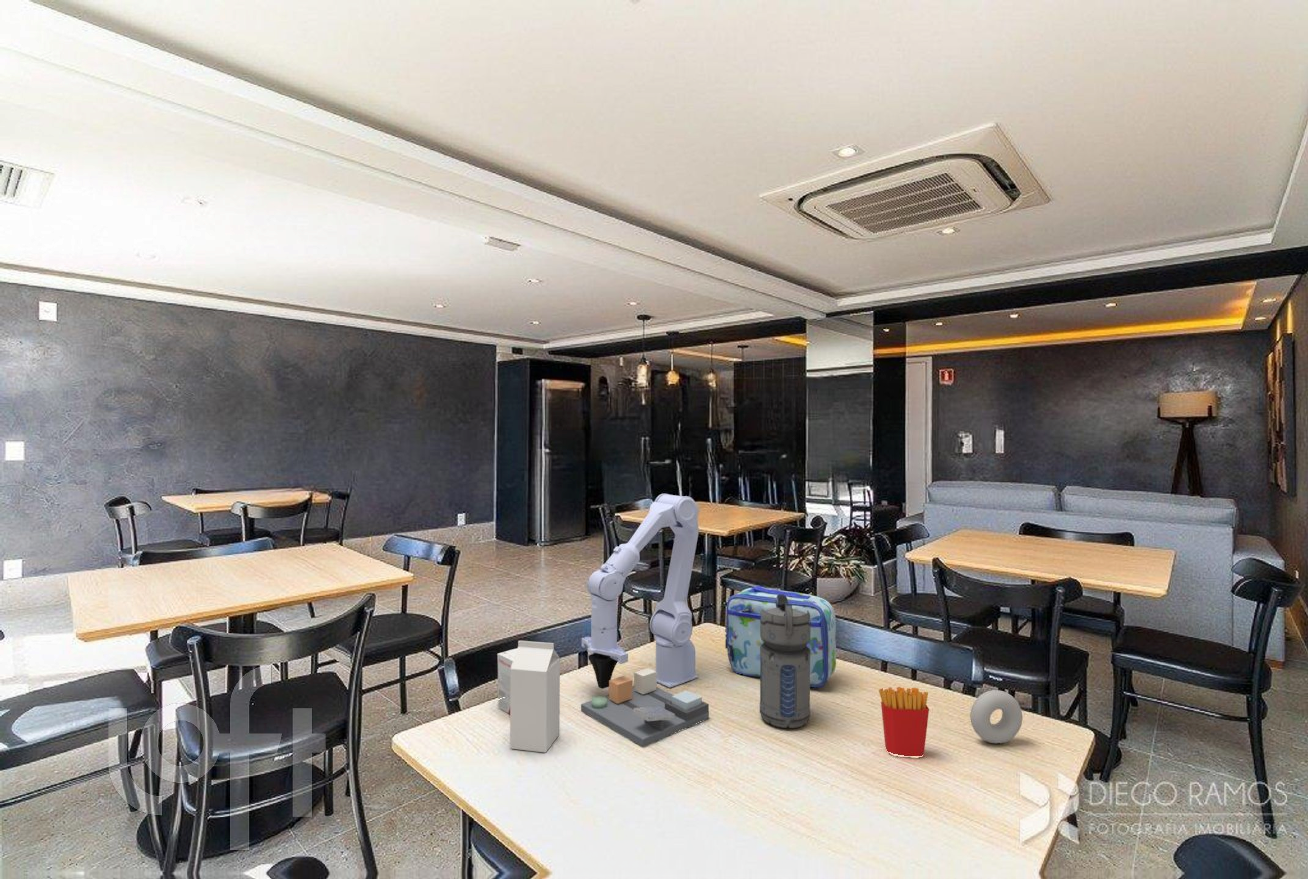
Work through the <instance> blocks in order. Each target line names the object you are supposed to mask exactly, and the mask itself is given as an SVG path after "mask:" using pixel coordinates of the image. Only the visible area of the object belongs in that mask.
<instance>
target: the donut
mask: <svg viewBox="0 0 1308 879" xmlns="http://www.w3.org/2000/svg"><path fill="white" fill-rule="evenodd" d="M996 710H1000V711H1001V712H1002V713H1001V714H1002V715H1001V718H1000V720H999V721H998V722H996V723H991V716H992V714H993V712H995V711H996ZM969 717H970V723H971V727H972V729H973V730H974V732H975V734H977V736H979V738H980V739H982V740H983V741H986V742H988V743H990V744H997V743H1000V744H1003V743H1008V742H1009V741H1011V740H1012V739H1014V738H1015V736H1016V735H1018V734H1019V731H1020V730H1021V727H1022V724H1023V719H1024V718H1023V711H1022V708H1021V706H1020V704H1019V701H1017V700H1016V699H1015V697H1014V696H1012V695H1011V694H1009V693H1008V692H1005V691H1003V690H998V689H992V690H988V691H985V692H983V693H981V694H979V695H978V697H977V698H976V699H975V700H974V702H973V704H972V705H971V708H970V712H969Z"/></svg>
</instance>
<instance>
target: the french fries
mask: <svg viewBox="0 0 1308 879" xmlns="http://www.w3.org/2000/svg"><path fill="white" fill-rule="evenodd" d="M905 689H906V690H905ZM878 693H879V695H880V699H881V701H880V704H881V706H880V707H881V715H882V717H881V718H882V726H883V736H884V745H885V746H884V747H886V749H887V751H888V752H891V753H893V754H898V755H904V756H922V755H923V754H924V755H925V748H926V741H927V740H926V738H927V733H928V732H927V731H928V730H927V729H928V724H929V723H928V721H929V712H930V708H929V706H928V705H927V702H928V695H929V692H927V691H924V692H922V691H919V688H918V687H917V688H916V687H912V688H910V687H909V688H905V687H901V686H897V687H896V690H895V689H893V687H889V686H888V688H887V689H884V688H880V689H879V690H878ZM886 749H885V750H886ZM887 751H886V752H887Z"/></svg>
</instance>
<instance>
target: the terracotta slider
mask: <svg viewBox="0 0 1308 879" xmlns="http://www.w3.org/2000/svg"><path fill="white" fill-rule="evenodd" d="M632 686H633V679H631V678H630V677H627V676H625V675H622V676H619V677H616V678H611V680H609V687H608V695H609V699H610V700H611V701H613V702H615V703H617V704H619V703H621V702H624V701H627V700H630V699H632Z"/></svg>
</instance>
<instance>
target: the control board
mask: <svg viewBox="0 0 1308 879" xmlns="http://www.w3.org/2000/svg"><path fill="white" fill-rule="evenodd" d="M673 695H674V694H673V693H671V692H668V691H667V690H664V689H662V688H661V687H658V686H657V690H654V691H651V692H649V693H646V694H641V693H639V692H637V691H635V690H634V685H632V699H630V700H627V701H624V702H621V703H619V704H617V703H615V702H613V701H611V700H610V699H609V694H605V695H604V696H600V695H598V696H594V697H593V698H591V699H590V700H589V701H586V702H584V703H581V704H580V712H582V713H584V714H585V715H586V716H589V717H590V718H592V719H594V720H595V721H597V722H598V723H600V724H602V725H604V726H605V727H607V728H609V729H611V730H612V731H614V732H616V733H617V734H619V735H620V736H623V737H624V738H626V739H627V740H629V741H631V742H633V743H634V744H635V745H636V744H637V745H638V746H639V747H641V748H646V747H647V746H650V745H652V744H654V743H657V742H659V741H660V740H663V739H665V737H666V738H667V736H668V737H670V736H672V735H674V733H675V732H677V733H679V732H680V731H679V730H681V731H683V730H682V729H684V730H685V728H686V727H688V728H690V727H692V725H693V726H694V724H695V725H696V723H697V724H699V723H701V722H700V721H702V722H704V721H706V720H708V719H709V718H710V711H709V710H710V709H709V706H710V705H709V703H707V702H705V701H704V700H702V705H700V706H698V707H695V708H693V709H690V710H688V711H685V710H683V709H681V708H679V707H677V706H675V705H673V704H672V696H673ZM659 706H660V707H662V708H664V709H666V710H668V711H670V712H672V713H674V714H675V716H674V719H671V720H657V721H646V720H645V719H643V718H641V717H639V716H637V715H635V714H633V710H634V708H641V707H659ZM707 718H708V719H707ZM703 720H704V721H703ZM698 722H699V723H698ZM689 726H690V727H689ZM686 729H687V728H686ZM678 731H679V732H678ZM671 734H672V735H671ZM675 734H676V733H675ZM669 735H670V736H669Z"/></svg>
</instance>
